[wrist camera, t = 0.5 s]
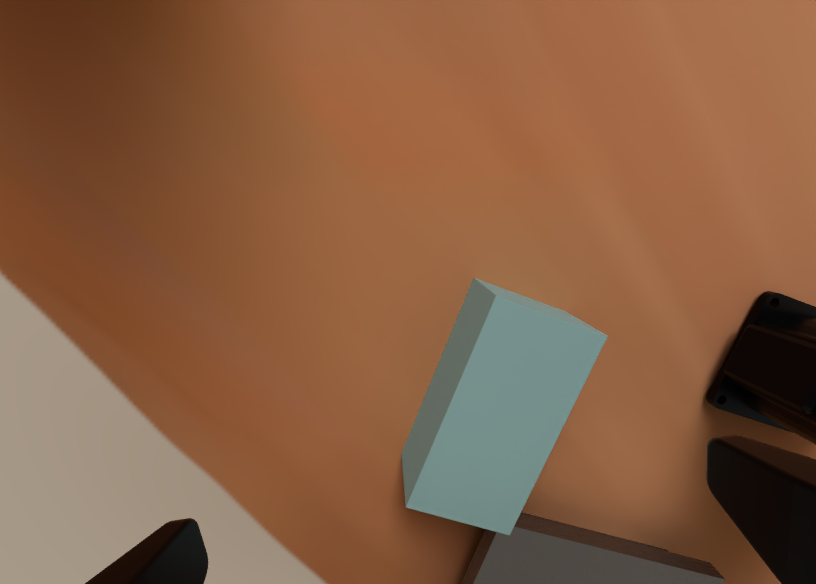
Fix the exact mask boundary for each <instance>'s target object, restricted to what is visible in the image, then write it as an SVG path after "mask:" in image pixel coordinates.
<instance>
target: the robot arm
mask: <svg viewBox="0 0 816 584" xmlns="http://www.w3.org/2000/svg"><path fill="white" fill-rule="evenodd" d="M771 300H772V301H771ZM770 301H771V303H770ZM719 397H720V398H719ZM718 398H719V399H718ZM707 401H708V403H710V404H711V405H713V406H715V407H716V408H718V409H722V410H725V411H728V412H731V413H734V414H737V415H740V416H743V417H747V418H750V419H753V420H756V421H759V422H762V423H765V424H768V425H772V426H775V427H778V428H781V429H784V430H787V431H790V432H793V433H796V434H797V435H799V436H801V437H803V438H805V439H807V440H808V441H810V442H812V443H814V444H816V307H814V306H812V305H809V304H806V303H804V302H801V301H798V300H796V299H793V298H790V297H788V296H785V295H782V294H780V293H775V292H770V291H767V292H764V293H763V294H761V295H760V297H759V298H758V300H757V302H756V304H755V306H754V308H753V309H752V311H751V313H750V315H749V317H748V319H747V321H746V323H745V325H744V326H743V328H742V330H741V332H740V334H739V336H738V338H737V340H736V341H735V343H734V345H733V347H732V349H731V351H730V353H729V355H728V357H727V358H726V360H725V362H724V364H723V366H722V368H721V370H720V372H719V373H718V375H717V377H716V379H715V381H714V383H713V385H712V387H711V388H710V390H709V392H708V394H707ZM707 483H708V486H709V489H710V490H711V492H712V494H713V495H714V497H715V498H716V500H717V501H718V502H719V503H720V505H721V506H722V507H723V509H724V510H725V511H726V513H727V514H728V515H729V516H730V518H731V519H732V520H733V522H734V523H735V524H736V526H737V527H738V528H739V529H740V531H741V532H742V533H743V535H744V536H745V537H746V539H747V540H748V541H749V542H750V544H751V545H752V546H753V548H754V549H755V550H756V552H757V553H758V554H759V555H760V557H761V558H762V559H763V561H764V562H765V563H766V565H767V566H768V567H769V568H770V570H771V571H772V572H773V574H774V575H775V576H776V577H777V579H778V580H779V581H780V582H781V583H782V584H816V459H812V458H809V457H806V456H803V455H800V454H796V453H793V452H790V451H787V450H783V449H780V448H777V447H774V446H771V445H767V444H764V443H761V442H758V441H754V440H751V439H748V438H745V437H742V436H738V435H728V436H722V437H715V438H712V439H711V440H710V441H709V442H708V445H707ZM207 569H208V556H207V552H206V549H205V546H204V542H203V539H202V536H201V533H200V529H199V527H198V524H197V522H196V521H195V520H194V519H191V518H188V519H181V520H175V521H170V522H168V523H166V524H164V525H163V526H162V527H161V528H159V529H158V530H156V531H155V532H154V533H153V534H151V535H150V536H148V537H147V538H146V539H144V540H143V541H142V542H140V543H139V544H138V545H137V546H135V547H134V548H132V549H131V550H130V551H128V552H127V553H125V554H124V555H123V556H122V557H120V558H119V559H117V560H116V561H115V562H113V563H112V564H111V565H109V566H108V567H107V568H105V569H104V570H103V571H101V572H100V573H99V574H97V575H96V576H95V577H93V578H92V579H91V580H89V581H88V582H86V583H85V584H203V583H204V580H205V577H206V574H207Z"/></svg>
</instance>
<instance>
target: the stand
mask: <svg viewBox="0 0 816 584" xmlns="http://www.w3.org/2000/svg"><path fill="white" fill-rule="evenodd" d="M724 581H725V579H724V578H723V576H722V575H721V574H720V573H719V572H718V571H717V570H716V569H715V568H714V567H713V566H712V564H711V563H709V562H705V561H701V560H697V559H693V558H690V557H686V556H682V555H678V554H674V553H670V552H668V551H667V550H665V549H661V548H657V547H653V546H649V545H645V544H641V543H637V542H634V541H630V540H626V539H622V538H618V537H614V536H610V535H606V534H602V533H599V532H595V531H591V530H587V529H583V528H579V527H575V526H571V525H567V524H564V523H560V522H556V521H552V520H548V519H544V518H540V517H536V516H532V515H529V514H525V513H520V515H519V517H518V519H517V521H516V523H515V525H514V528H513V530H512V532H511V534H510V535H506V534H502V533H499V532H495V531H491V530H487V529H485V531H484V533H483V535H482V538H481V540H480V542H479V544H478V547H477V549H476V551H475V553H474V556H473V558H472V560H471V562H470V564H469V567H468V569H467V571H466V573H465V576H464V578H463V580H462V582H461V584H723V583H724Z"/></svg>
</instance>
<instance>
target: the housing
mask: <svg viewBox="0 0 816 584" xmlns="http://www.w3.org/2000/svg"><path fill="white" fill-rule="evenodd" d="M607 337H608V336H607V335H605V334H603V333H602V332H600V331H598V330H597V329H595V328H593V327H591V326H590V325H588V324H586V323H584V322H583V321H581V320H579V319H578V318H576V317H574V316H572V315H571V314H569V313H567V312H565V311H563V310H560V309H557V308H555V307H552V306H549V305H547V304H544V303H541V302H538V301H536V300H533V299H530V298H527V297H525V296H522V295H519V294H517V293H514V292H511V291H508V290H506V289H503V288H500V287H497V286H495V285H492V284H489V283H487V282H484V281H481V280H478V279H476V278H473V281H472V283H471V286H470V288H469V290H468V293H467V295H466V298H465V300H464V303H463V305H462V307H461V310H460V312H459V315H458V317H457V320H456V322H455V324H454V327H453V329H452V332H451V334H450V337H449V339H448V342H447V344H446V346H445V349H444V351H443V354H442V356H441V359H440V361H439V363H438V366H437V368H436V371H435V373H434V376H433V378H432V380H431V383H430V385H429V388H428V390H427V393H426V395H425V398H424V400H423V402H422V405H421V407H420V410H419V412H418V415H417V417H416V419H415V422H414V424H413V427H412V429H411V432H410V434H409V436H408V439H407V441H406V444H405V446H404V449H403V451H402V453H401V456H402V468H403V479H404V491H405V503H406V508H410V509H413V510H417V511H421V512H425V513H428V514H432V515H436V516H439V517H443V518H447V519H450V520H454V521H458V522H462V523H465V524H469V525H473V526H476V527H480V528H484V529H487V530H491V531H495V532H499V533H502V534H506V535H510V534H511V532H512V530H513V528H514V525H515V523H516V521H517V519H518V517H519V515H520V513H521V511H522V509H523V507H524V505H525V503H526V501H527V499H528V497H529V495H530V493H531V491H532V489H533V487H534V485H535V483H536V481H537V479H538V477H539V475H540V473H541V471H542V469H543V467H544V465H545V463H546V461H547V458H548V456H549V454H550V452H551V450H552V448H553V446H554V444H555V442H556V440H557V438H558V436H559V434H560V432H561V430H562V428H563V426H564V424H565V422H566V420H567V418H568V416H569V414H570V412H571V410H572V408H573V406H574V404H575V402H576V400H577V398H578V396H579V394H580V391H581V389H582V387H583V385H584V383H585V381H586V379H587V377H588V375H589V373H590V371H591V369H592V367H593V365H594V363H595V361H596V359H597V357H598V355H599V353H600V351H601V349H602V347H603V345H604V343H605V341H606V339H607Z"/></svg>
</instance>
